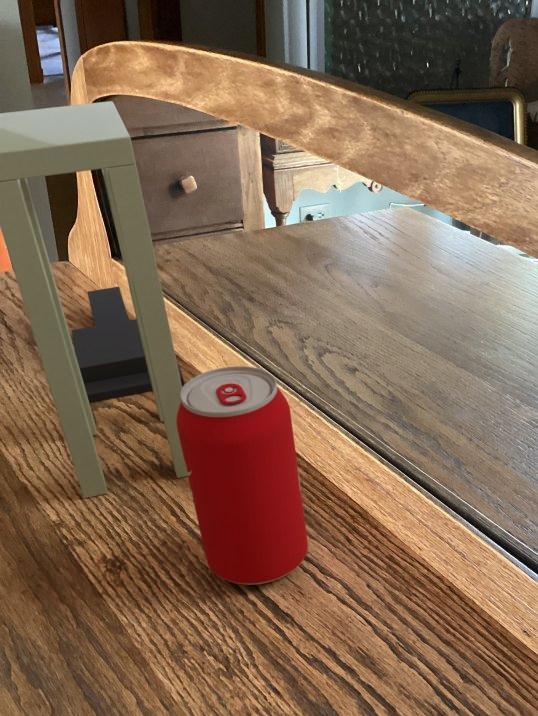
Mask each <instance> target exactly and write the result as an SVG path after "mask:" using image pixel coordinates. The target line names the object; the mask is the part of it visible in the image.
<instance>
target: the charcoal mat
mask: <svg viewBox="0 0 538 716" xmlns="http://www.w3.org/2000/svg"><path fill="white" fill-rule="evenodd" d="M177 365H178V370H179V375H180V380H181V385H182V386H184V385H185V381H184V376H183V373H182V371H181V368H180V366H179V362H178V361H177ZM84 386H85V389H86V393H87V397H88V400H89V404H93V403H97V402H102V401H103V402H104V401H108V400H113V399H119V398H124V397H129V396H134V395H139V394H145V393H149V392H150V393H151V392H153V389H152V385H151V380H150V376H149V372H148V371H147V372H141V373H136V374H131V375H125V376H120V377H115V378H109V379H104V380H99V381H93V382H88V383H84Z"/></svg>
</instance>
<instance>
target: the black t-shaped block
mask: <svg viewBox="0 0 538 716" xmlns="http://www.w3.org/2000/svg"><path fill="white" fill-rule="evenodd" d="M87 297H88V301H89V305H90V306H89V307H90V310H91V315H92V319H93V324H94V325H93V326H88V327H82V328H76V329H71V334H72V343H73V347H74V350H75V354H76V357H77V361H78V365H79V368H80V372H81V375H82V379H83V382H84V383H88V382H93V381H99V380H104V379H109V378H115V377H120V376H125V375H131V374H136V373H141V372H147V371H148V367H147V363H146V359H145V354H144V350H143V346H142V341H141V337H140V332H139V328H138V324H137V319H136V318H134V319H129V315H128V312H127V308H126V304H125V301H124V299H123V295H122V292H121V289H120V286H114V287H113V286H112V287H107V288H101V289H94V290H89V291H87Z"/></svg>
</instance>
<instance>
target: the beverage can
mask: <svg viewBox="0 0 538 716" xmlns="http://www.w3.org/2000/svg"><path fill="white" fill-rule="evenodd" d="M180 397H181V403H180V406H179V409H178V413H177V418H176V425H177V430H178V434H179V439H180V443H181V448H182V452H183V457H184V461H185V466H186V470H187V474H188V476H187V478H188V483H189V488H190V493H191V496H192V501H193V506H194V510H195V514H196V519H197V523H198V528H199V532H200V536H201V540H202V547H203V550H204V554H205V558H206V562H207V566H208V568H209V569H210V570H211V572H212V573H213V574H214V575H215V576H217V577H218V578H220V579H222V580H225V581H227V582H230V583H234V584H237V585H248V586H251V585H252V586H253V585H263V584H268V583H271V582H274V581H277V580H280V579H282V578H284V577H286V576H288V575H289V574H291V573H292V572H293V571H295V570H296V569H297V568H298V567H299V566H300V565H301V564H302V563H303V561H304V560H305V558H306V556H307V554H308V549H309V541H308V535H307V528H306V527H307V526H306V520H305V511H304V505H303V496H302V490H301V482H300V474H299V467H298V460H297V459H298V458H297V452H296V451H297V450H296V445H295V444H296V443H295V437H294V429H293V422H292V414H291V408H290V404H289V402H288V400H287V398H286V397H285V395H284V394H283V391H281V390H280V388H279V387H278V384H277V380H276V378H275V377H274V376H273V374H271V373H270V372H268V371H267V370H264V369H261V368H258V367H254V366H244V365H240V366H239V365H238V366H237V365H235V366H225V367H218V368H215V369H214V368H213V369H212V370H208V371H205V372H202V373H200V374H197V375H196V376H194V377H193V378H191V379H190V380H188V381H187V382H186V383H184V385H183V386H182V390H181V394H180Z"/></svg>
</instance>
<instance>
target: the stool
mask: <svg viewBox="0 0 538 716" xmlns="http://www.w3.org/2000/svg"><path fill="white" fill-rule="evenodd" d="M96 170H101V171H102V175H103V179H104V183H105V184H104V185H105V188H106V193H107V197H108V201H109V205H110V210H111V215H112V218H113V223H114V228H115V231H116V236H117V240H118V241H117V242H118V244H119V250H120V253H121V258H122V263H123V267H124V271H125V275H126V280H127V284H128V289H129V293H130V297H131V302H132V306H133V310H134V314H135V319H137V324H138V328H139V332H140V337H141V341H142V346H143V350H144V354H145V359H146V363H147V367H148V372H149V376H150V380H151V385H152V389H153V391H152V393H153V397H154V402H155V406H156V407H155V408H156V411H157V415H158V418H159V422H161V423H163V425H164V429H165V433H166V438H167V443H168V446H169V452H170V456H171V461H172V464H173V469H174V472H175V476H176V478H177V479H181V478H184V477H188V474H187V470H186V466H185V461H184V457H183V452H182V448H181V443H180V439H179V434H178V430H177V425H176V418H177V413H178V409H179V406H180V403H181V397H180V394H181V390H182V388H183V385H181V380H180V375H179V370H178V365H179V364H178V365H177V362H178V360H177V357H176V356H177V355H176V351H175V347H174V342H173V337H172V332H171V327H170V322H169V318H168V313H167V312H168V311H167V307H166V302H165V298H164V292H163V287H162V283H161V278H160V273H159V269H158V265H157V259H156V254H155V250H154V244H153V241H152V235H151V230H150V225H149V220H148V216H147V211H146V206H145V201H144V196H143V191H142V186H141V182H140V177H139V172H138V167H137V164H136V157H135V153H134V147H133V144H132V138H131V136H130V134H129V132H128V130H127V128H126V126H125V123H124V122H123V120H122V118H121V115H120V114H119V111H118V110H117V107H116V106H115V103H114V102H113V101H112V100H109V101H100V102H91V103H83V104H81V103H80V104H73V105H64V106H63V105H62V106H55V107H46V108H37V109H27V110H18V111H10V112H1V113H0V230H1V234H2V237H3V240H4V244H5V247H6V251H7V253H8V256H9V260H10V263H11V267H12V269H13V273H14V276H15V279H16V283H17V286H18V289H19V293H20V296H21V298H22V302H23V305H24V308H25V312H26V314H27V319H28V321H29V324H30V328H31V331H32V334H33V338H34V341H35V344H36V348H37V350H38V354H39V358H40V360H41V364H42V367H43V369H44V374H45V377H46V380H47V383H48V386H49V390H50V393H51V396H52V399H53V402H54V405H55V410H56V412H57V415H58V419H59V423H60V425H61V428H62V432H63V436H64V439H65V442H66V445H67V448H68V451H69V455H70V458H71V462H72V465H73V468H74V471H75V474H76V478H77V480H78V485H79V487H80V490H81V494H82V497H83V499H88V498H93V497H98V496H102V495H108V486H107V483H106V478H105V475H104V471H103V468H102V464H101V461H100V456H99V453H98V450H97V446H96V443H95V440H94V436H97V435H98V432H97V431H98V430H97V426H96V422H95V421H96V420H95V419H94V414H93V411H92V407H91V403H89V400H88V397H87V393H86V389H85V386H84V382H83V379H82V375H81V372H80V368H79V365H78V361H77V357H76V354H75V348H74V342H73V339H72V337H71V333H70V329H69V326H68V323H67V318H66V316H65V311H64V308H63V305H62V301H61V297H60V293H59V290H58V287H57V282H56V280H55V275H54V273H53V269H52V265H51V262H50V258H49V255H48V250H47V247H46V244H45V239H44V237H43V236H44V235H43V233H42V229H41V226H40V222H39V218H38V215H37V212H36V209H35V205H34V201H33V198H32V194H31V191H30V187H29V183H28V180H27V179H34V178H41V177H48V176H55V175H64V174H72V173H81V172H87V171H96Z"/></svg>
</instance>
